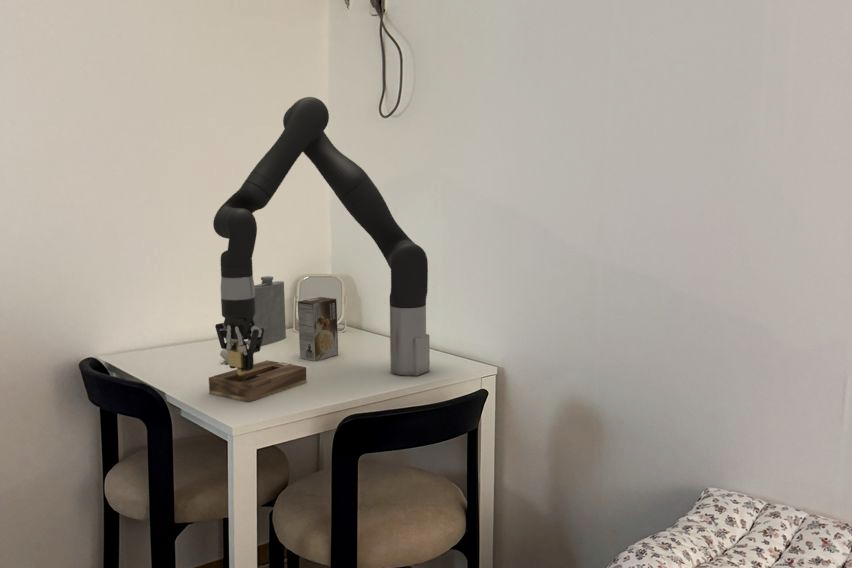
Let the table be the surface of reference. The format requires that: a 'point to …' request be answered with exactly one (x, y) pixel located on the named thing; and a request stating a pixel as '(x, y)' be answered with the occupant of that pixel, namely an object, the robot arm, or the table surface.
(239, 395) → the keyhole plate
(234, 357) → the brass keyhole peg
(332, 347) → the coffee box
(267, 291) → the hip flask
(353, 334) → the table surface
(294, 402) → the table surface
